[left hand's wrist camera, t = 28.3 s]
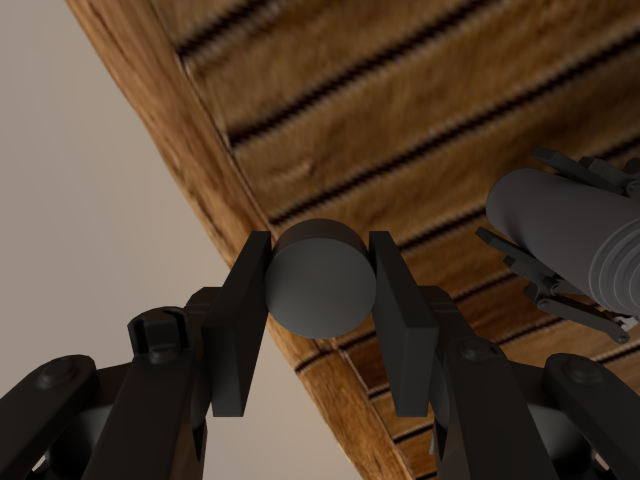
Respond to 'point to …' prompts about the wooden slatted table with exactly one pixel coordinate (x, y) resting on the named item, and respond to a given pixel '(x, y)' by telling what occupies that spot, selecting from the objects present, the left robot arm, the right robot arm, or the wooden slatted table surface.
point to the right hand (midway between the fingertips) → (512, 196)
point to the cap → (320, 279)
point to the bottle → (573, 233)
